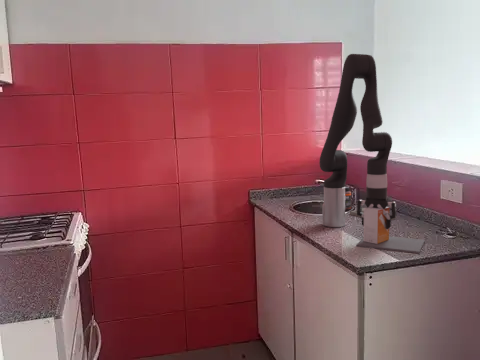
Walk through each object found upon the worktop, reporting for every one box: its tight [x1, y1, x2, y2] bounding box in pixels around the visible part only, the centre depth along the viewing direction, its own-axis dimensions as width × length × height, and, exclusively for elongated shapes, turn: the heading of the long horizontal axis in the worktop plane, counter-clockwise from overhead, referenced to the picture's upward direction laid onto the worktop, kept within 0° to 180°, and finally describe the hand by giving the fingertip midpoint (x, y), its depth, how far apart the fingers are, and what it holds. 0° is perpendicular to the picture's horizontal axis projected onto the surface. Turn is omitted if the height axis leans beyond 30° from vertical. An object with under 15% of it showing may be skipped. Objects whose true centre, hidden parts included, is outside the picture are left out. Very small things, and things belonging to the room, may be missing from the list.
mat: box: [356, 235, 426, 254], centre depth 170 cm, size 22×16×1 cm
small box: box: [363, 206, 391, 244], centre depth 171 cm, size 8×6×13 cm
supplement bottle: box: [345, 186, 352, 211], centre depth 232 cm, size 6×6×11 cm
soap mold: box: [349, 207, 397, 221], centre depth 213 cm, size 10×20×4 cm, turn 30°
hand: (376, 227), depth 171 cm, fingers open, 8 cm apart
